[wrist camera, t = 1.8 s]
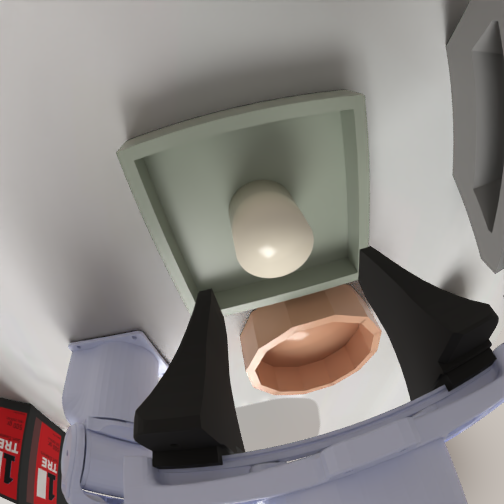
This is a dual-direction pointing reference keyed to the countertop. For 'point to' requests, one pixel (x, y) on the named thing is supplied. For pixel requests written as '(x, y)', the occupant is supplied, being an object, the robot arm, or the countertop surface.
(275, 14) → the countertop surface
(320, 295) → the bowl
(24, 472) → the cleaning product box
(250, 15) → the countertop surface
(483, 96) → the grey storage case
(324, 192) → the parts tray
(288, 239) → the cream rounded capsule
